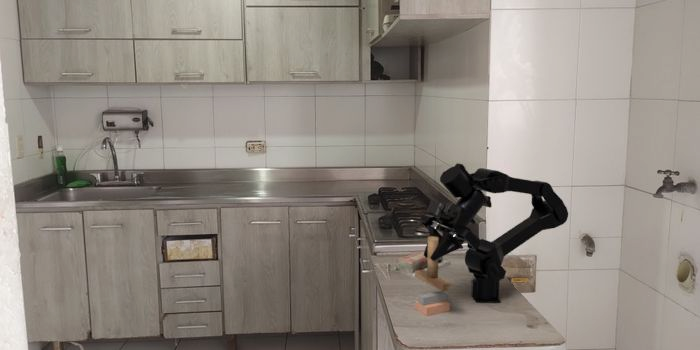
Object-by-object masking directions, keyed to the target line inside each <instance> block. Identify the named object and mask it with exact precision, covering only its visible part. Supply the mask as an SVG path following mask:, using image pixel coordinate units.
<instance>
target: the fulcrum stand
mask: <svg viewBox="0 0 700 350" xmlns="http://www.w3.org/2000/svg"><path fill="white" fill-rule="evenodd" d="M414 310H415V311H418V312H419V313H421V314H422V315H425V316H426V317H427V316H432V315H437V314H442V313H445V312H450V311H451V303H450V302H449V301H447V292H446V291H441V290H439V291H435V292H429V293H424V294H419V295H418V300H415V301H414Z"/></svg>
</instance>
